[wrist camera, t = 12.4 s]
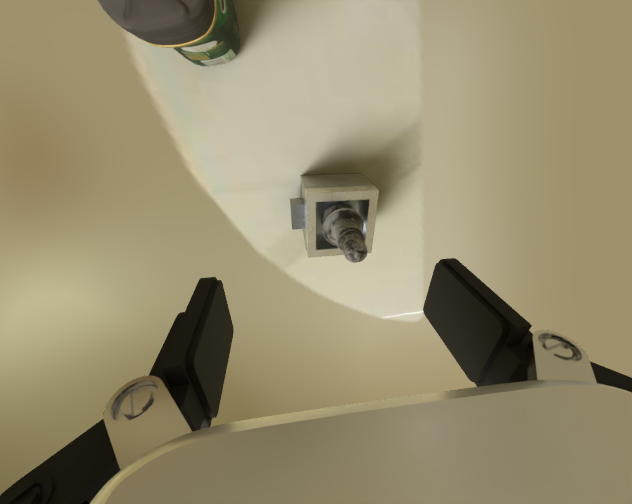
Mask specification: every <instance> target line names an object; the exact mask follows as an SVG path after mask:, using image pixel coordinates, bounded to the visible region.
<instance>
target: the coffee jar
mask: <svg viewBox="0 0 632 504" xmlns="http://www.w3.org/2000/svg"><path fill="white" fill-rule="evenodd" d="M98 1H99V3H100V4H101V6H102V8H103V9H104V10H105V11H106V13H107V14H108V15H109V16H110V17H111V18H112V19H113V20H114V21H115V22H116V23H117V24H119V25H120V26H121V27H122V28H124V29H125V30H127V31H128V32H130V33H132V34H134V35H135V36H137V37H138V38H139V39H141V40H143V41H144V42H146V43H148V44H151V45H154V46H159V47H167V48H174V49H175V50H176V51H177V52H179V53H180V54H181V55H183V56H184V57H185V58H186V59H188V60H190V61H191V62H193V63H195V64H197V65H201V66H215V65H220V64H224V63H226V62H229V61H231V60H232V59H233V58H234V57H235V56H236V55H237V53H238V50H239V46H240V36H239V29H238V24H237V18H236V14H235V10H234V6H233V2H232V0H98Z"/></svg>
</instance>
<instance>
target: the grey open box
mask: <svg viewBox="0 0 632 504" xmlns="http://www.w3.org/2000/svg"><path fill="white" fill-rule="evenodd" d="M378 195H379V190H378V189H377V188H376V187H375V186H374V185H373V184H372V183H371V182H370V181H369V180H367V179H366V178H365V177H364V176H363V175H362V174H360V173H352V174H326V175H301V197H302V198H295V199H290V205H291V221H292V229H303V235H304V240H305V245H306V250H307V254H308V257H321V256H335V255H344V253H343V252H342V251H341V250H339V248H338V247H337V246H336V245H332V244H331V243H329V242H328V241H327V240H326V239H325V237H324V234H323V225H322V223H321V216H322V213H323V211H324V209H325V208H326V207H327V206H328V205H330V204H331V203H334V202H338V201H341V202H346V203H348V204H349V205H351V206H352V208H353V209H354V210H356V211H357V212H358V213H359V214H360V215H361V216H362V218H363V222H364V228H363V232H362V234H363V236H364V243H365V244H366V246H367V250H368V253H371V251H372V243H373V235H374V227H375V219H376V211H377V203H378Z"/></svg>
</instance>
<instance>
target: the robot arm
mask: <svg viewBox="0 0 632 504" xmlns="http://www.w3.org/2000/svg"><path fill="white" fill-rule="evenodd" d="M423 311H424V314H425V316H426V317H427V319H428V320H429V322H430V323H431V325H432V326H433V327H434V329H435V330H436V332H437V333H438V335H439V336H440V338H441V339H442V341H443V342H444V343H445V345H446V346H447V348H448V349H449V351H450V352H451V354H452V355H453V356H454V358H455V359H456V361H457V362H458V364H459V365H460V367H461V368H462V370H463V371H464V372H465V374H466V375H467V377H468V378H469V379H470V380H471V381H472V382H474V383H475V384H476V385H477V387H474V388H466V389H459V390H451V391H444V392H436V393H429V394H421V395H414V396H407V397H400V398H392V399H385V400H378V401H371V402H363V403H356V404H349V405H343V406H335V407H328V408H322V409H315V410H307V411H301V412H295V413H287V414H280V415H274V416H267V417H261V418H255V419H249V420H243V421H237V422H231V423H226V424H222V425H217V426H212V427H210V425H211V420H212V418H214V417H216V416H217V414H218V410H219V404H220V399H221V394H222V389H223V384H224V379H225V374H226V369H227V364H228V358H229V353H230V348H231V343H232V338H233V324H232V320H231V316H230V313H229V308H228V304H227V301H226V297H225V292H224V289H223V284H222V281H221V280H217V279H216V278H215V277H211V278H201V279H200V280H199V282H198V284H197V286H196V289H195V291H194V293H193V295H192V297H191V300H190V302H189V304H188V306H187V309H186V311H185V312H182V313H179V314H178V316H177V317H176V319H175V321H174V323H173V325H172V327H171V330H170V332H169V334H168V336H167V338H166V340H165V342H164V344H163V346H162V349H161V351H160V353H159V355H158V357H157V359H156V361H155V363H154V365H153V367H152V370H151V372H150V374H149V376H142V377H139V378H136V379H134V380H132V381H130V382H128V383H126V384H125V385H124V386H122V387H121V388H120V389H119V390H118V391H117V392H116V393H115V394H114V395H113V396H112V397H111V398H110V400H109V401H108V403H107V404H106V407H105V410H104V413H103V416H104V419H102V420H101V421H100V422H98V423H97V424H96V425H94V426H93V427H91V428H90V429H89V430H87V431H86V432H85V433H83V434H82V435H80V436H79V437H78V438H76V439H75V440H74V441H72V442H71V443H70V444H68V445H67V446H65V447H64V448H63V449H61V450H60V451H58V452H57V453H56V454H54V455H53V456H51V457H50V458H49V459H47V460H46V461H45V462H43V463H42V464H40V465H39V466H38V467H36V468H35V469H33V470H32V471H31V472H29V473H28V474H27V475H25V476H24V477H22V478H21V479H20V480H18V481H17V482H16V483H14V484H13V485H12V486H11V487H10V488H8V489H7V490H6V491H5V492H4V493H2V494H1V496H0V504H632V378H631V377H628V376H626V375H623V374H621V373H618V372H615V371H613V370H610V369H608V368H605V367H603V366H600V365H598V364H595V363H593V362H590V360H589V358H588V355H587V354H586V352H585V351H584V349H583V348H582V347H581V346H579V345H578V344H577V343H576V342H574V341H573V340H571V339H569V338H568V337H566V336H564V335H561V334H559V333H557V332H553V331H549V330H539V331H536V332H535V333H533V334H532V333H531V332H530V331H529V329H530V328H531V326H532V325H531V324H530V323H528V322H527V321H526V320H525V319H524V318H523V317H522V316H520V315H519V314H518V313H517V312H516V311H515V310H514V309H512V308H511V307H510V306H509V305H508V304H507V303H506V302H504V301H503V300H502V299H501V298H500V297H499V296H498V295H497V294H495V293H494V292H493V291H492V290H491V289H490V288H489V287H487V286H486V285H485V284H484V283H483V282H482V281H481V280H480V279H478V278H477V277H476V276H475V275H474V274H473V273H472V272H470V271H469V270H468V269H467V268H466V267H465V266H464V265H462V264H461V263H460V262H459V261H458V260H456V259H454V258H452V259H442V260H440V261H439V263H437V264H436V265H435V269H434V272H433V276H432V279H431V283H430V286H429V290H428V293H427V297H426V300H425V304H424V308H423Z"/></svg>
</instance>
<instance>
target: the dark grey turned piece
mask: <svg viewBox="0 0 632 504" xmlns="http://www.w3.org/2000/svg"><path fill="white" fill-rule="evenodd" d="M321 223H322V225H323V234H324V237H325V239H326V240H327V241H328V242H329V243H331V244H332V245H336V246H337V247H338V248H339V250H341V251H342V252H343V253H344V255H345V257H346V259H347V260H348V261H350V262H353V263H356V262H360V261H362V260H363V259H364V258H365V257H366V256H367V253H368V250H367V246H366V244H365V243H364V236H363V234H362V232H363V228H364V222H363V218H362V216H361V215H360V214H359V213H358V212H357V211H356V210H354V209H353V208H352V206H351V205H349V204H348V203H346V202H341V201H338V202H334V203H331V204H330V205H328V206H327V207H326V208H325V209H324V211H323V213H322V216H321Z"/></svg>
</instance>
